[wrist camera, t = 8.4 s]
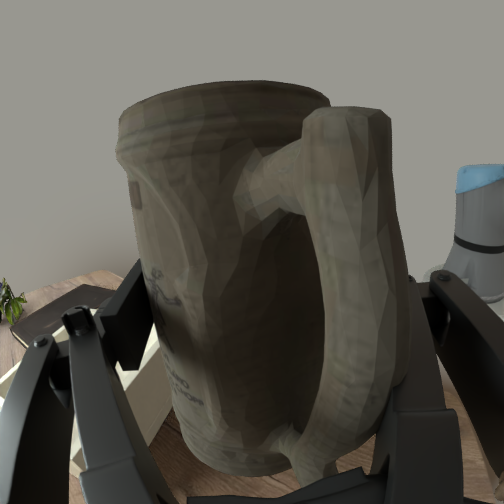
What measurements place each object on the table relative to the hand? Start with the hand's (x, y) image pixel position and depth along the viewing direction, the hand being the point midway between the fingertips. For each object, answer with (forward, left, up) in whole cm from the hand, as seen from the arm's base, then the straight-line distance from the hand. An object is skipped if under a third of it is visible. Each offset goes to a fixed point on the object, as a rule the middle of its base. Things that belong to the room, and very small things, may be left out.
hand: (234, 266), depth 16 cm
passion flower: (+64, -12, -18) cm, 68 cm away
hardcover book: (+44, -16, -18) cm, 51 cm away
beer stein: (-2, +4, -11) cm, 12 cm away
